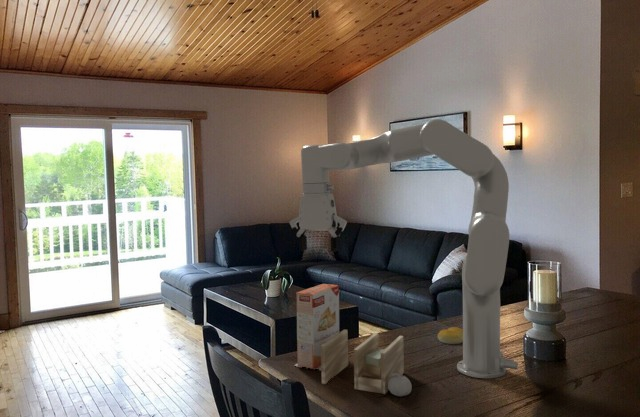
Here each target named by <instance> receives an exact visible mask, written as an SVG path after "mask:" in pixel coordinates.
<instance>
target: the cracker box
mask: <svg viewBox="0 0 640 417" xmlns="http://www.w3.org/2000/svg"><path fill="white" fill-rule="evenodd" d="M338 333H340V285H337V284H331V283H330V284H327V283H322V284H319V285H315V286H313V287H309V288H306V289H303V290H300V291H297V292H296V340H297V341H296V343H297V344H296V346H297V347H296V348H297V350H296V351H297V352H296V353H297V357H296V358H297V363H298V366H301V367H300V368H302V367H306V368H305V369H308V368H310V369H311V370H315V368H317V367H318V366H320V365H321V345H322V344H323V343H325V342H326V341H328V340H329V339H331V338H332V337H334V336H335V335H337V334H338ZM310 369H309V370H310Z"/></svg>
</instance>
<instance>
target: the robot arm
mask: <svg viewBox="0 0 640 417" xmlns="http://www.w3.org/2000/svg"><path fill="white" fill-rule="evenodd" d="M432 155H434V156H435V157H437V158H439V159H440V160H442V161H443V162H445V163H447V164H449V165H450V166H452V167H454V168H455V169H457V170H458V171H460V172H462V173H463V174H464V175H467V176H468V177H471V179H472V181H473V184H474V193H473V202H472V203H473V204H472V210H471V218H470V222H469V225H468V243H467V251H466V258H465V259H464V261H463V263H462V268H461V280H462V281H461V282H462V283H461V284H462V330H463V343H462V360H460V361H458V363H457V364H456V369H457V371H458V372H459V373H461V375H462V374H463V375H465V376H467V377H471V378H477V379H495V378H501V377H503V376H505V375H506V374H507V369H510V370H517V371H518V368H519V362H518V361H515V359H512V358H506V357H504V352H501V287H502V285H503V283H504V279H505V272H506V267H507V266H506V265H507V261H508V260H507V259H508V252H509V245H510V230H509V226H508V224H507V222H506V220H507V213H508V212H507V211H508V201H509V200H508V199H509V190H510V189H509V188H510V186H509V177H508V173H507V171H506V169H505V167H504V165H503V163H502V161H501V160H500V159H499V158H498V157H497V156H496V155H495V154H493V151H492V149H491V148H490V147H488V145H486V144H484V143H483V142H481V141H479V140H478V139H476V138H474V137H473V136H470V135H469V134H467V133H466V132H464V131H462V130H461V129H459V128H457V127H456V126H455V125H452V124H451V123H450V122H448V121H446V120H444V119H441V118H435V119H430V120H429V121H427V122H425V123H421V124H420V123H419V124H416V125H413V126H406V127H402V128H398V129H391V130H389V131H388V130H387V131H385V132H383V133H382V134H380V135H378V136H374V137H372V138H367V139H364V140H363V139H362V140H358V141H353V142H348V143H345V142H335V143H330V144H324V145H323V144H308V145H304V146H302V147H301V150H300V158H301V177H302V178H301V180H302V184H301V185H302V195H301V194H300V198H299V207H298V216H296V217H294V218H292V219H291V220H290V221H289V222H288V223H289V225H290V227H291V229H292V231H293V232H294V234H295V235H296V237H297V239H298V247H299V252H304V251H306V250H307V249H308V243H307V239H308V238H307V236H306V233H307V232H308V231H313V232H314V231H317V232H318V231H322V232H323V231H324V232H325V231H327V232H328V233H329V234H330V235H331V237H330V252H331V253H335V252H338V251H339V247H340V244H339V243H340V241H339V237H340V236H341V234H342V233H343V232H344V231H345V228H346V226H347V223H348V221H347V220H346V219H343V217H341V216H338V215H337V214H338V213H337V209H336V203H335V202H336V201H335V197H334V194H333V193H331V191H334V189H335V185H334V184H331V182H330V170H331V171H350V170H354V169H361V168H365V167H370V166H376V165H381V164H391V163H397V162H402V161H407V160H412V159H418V158H423V157H427V156H428V157H429V156H432ZM297 223H298V225H299V226H298V225H297ZM338 224H339V226H338ZM337 227H338V228H337Z"/></svg>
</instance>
